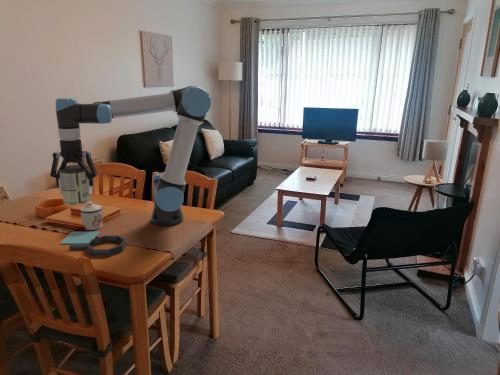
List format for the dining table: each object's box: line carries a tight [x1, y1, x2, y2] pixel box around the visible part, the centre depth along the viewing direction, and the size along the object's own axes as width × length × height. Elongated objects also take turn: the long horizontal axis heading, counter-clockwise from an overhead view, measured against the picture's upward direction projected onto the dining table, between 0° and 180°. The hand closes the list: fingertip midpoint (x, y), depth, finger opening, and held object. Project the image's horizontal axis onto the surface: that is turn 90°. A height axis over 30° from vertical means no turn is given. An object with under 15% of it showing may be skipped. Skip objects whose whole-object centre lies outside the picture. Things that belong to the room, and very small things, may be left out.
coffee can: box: [58, 164, 92, 206], centre depth 145 cm, size 10×10×14 cm
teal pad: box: [59, 231, 101, 245], centre depth 152 cm, size 12×12×1 cm
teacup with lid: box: [79, 201, 104, 231], centre depth 164 cm, size 12×9×12 cm
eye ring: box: [68, 235, 127, 257], centre depth 142 cm, size 21×14×2 cm, turn 94°
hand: (76, 193), depth 146 cm, fingers closed on coffee can, 10 cm apart
